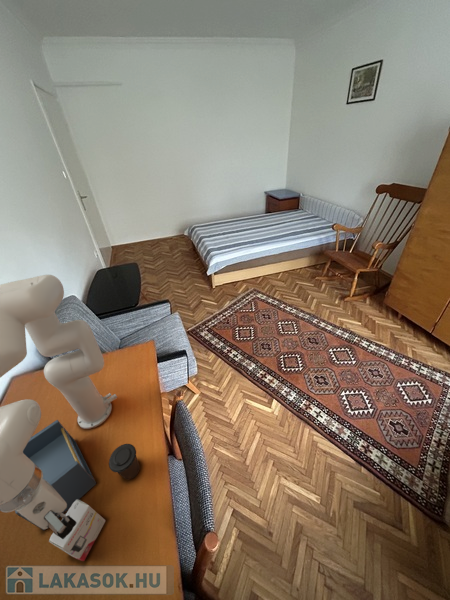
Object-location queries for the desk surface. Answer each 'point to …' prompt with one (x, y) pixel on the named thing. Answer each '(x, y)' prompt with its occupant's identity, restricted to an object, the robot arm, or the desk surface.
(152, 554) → the desk surface
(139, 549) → the desk surface
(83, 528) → the ink box
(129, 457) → the coffee cup
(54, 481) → the shelf
